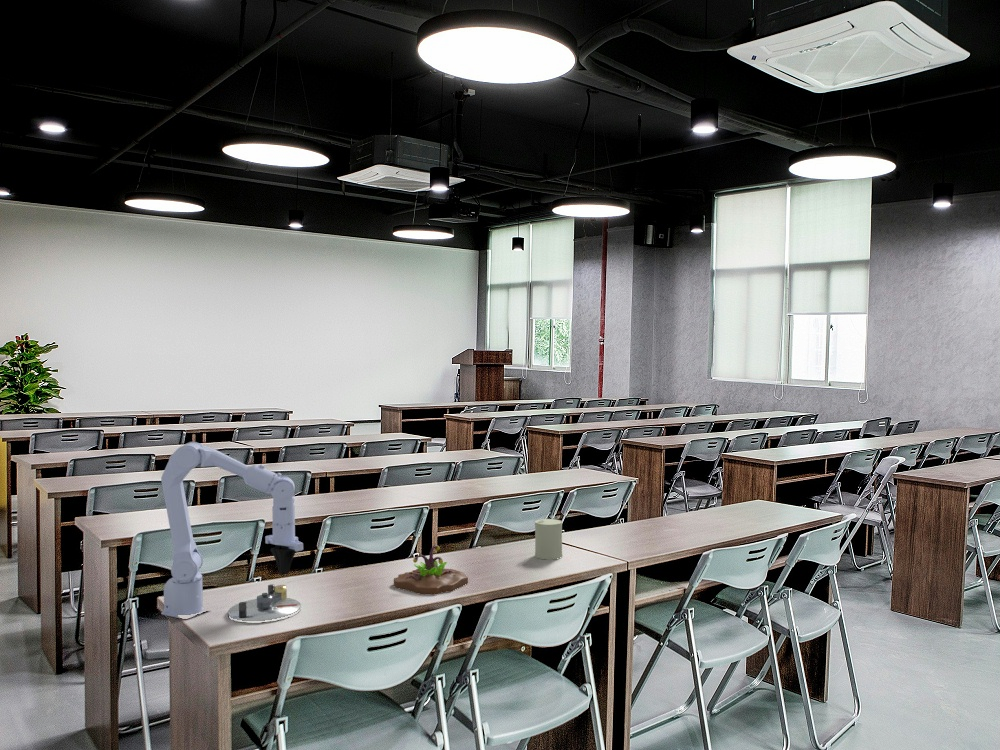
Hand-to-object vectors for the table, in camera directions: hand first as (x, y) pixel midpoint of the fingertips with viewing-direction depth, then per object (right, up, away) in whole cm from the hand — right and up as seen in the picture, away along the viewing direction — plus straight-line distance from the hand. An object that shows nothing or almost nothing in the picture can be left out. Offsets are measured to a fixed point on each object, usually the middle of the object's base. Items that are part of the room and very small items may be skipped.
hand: (284, 573), depth 201 cm
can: (+74, -7, +49) cm, 89 cm away
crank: (-3, -7, -1) cm, 8 cm away
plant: (+38, -9, +20) cm, 43 cm away
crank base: (-4, -9, -4) cm, 10 cm away
